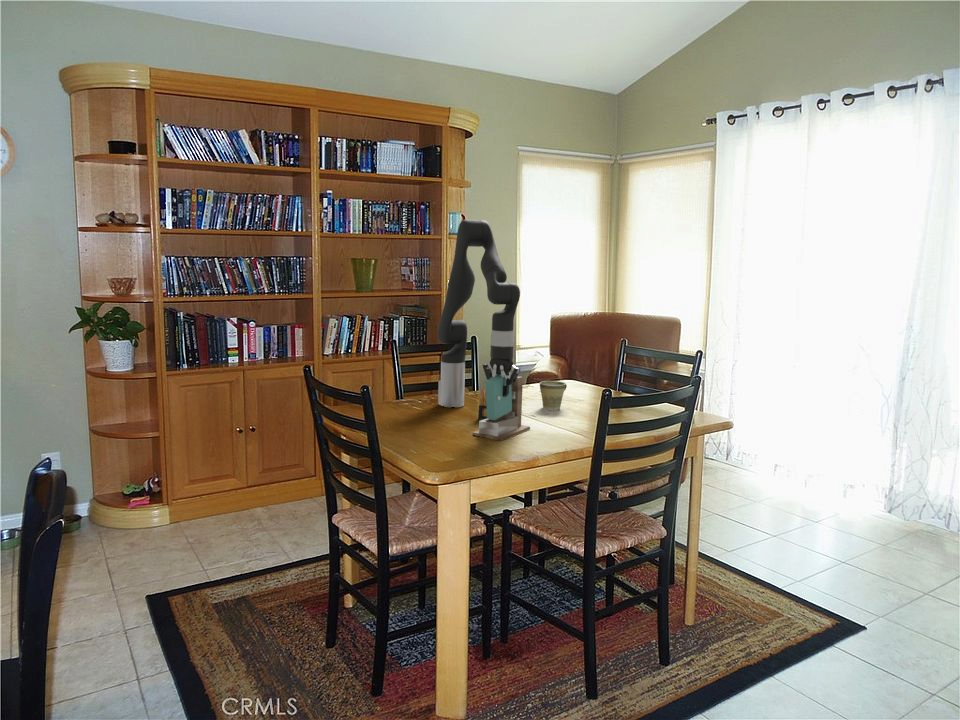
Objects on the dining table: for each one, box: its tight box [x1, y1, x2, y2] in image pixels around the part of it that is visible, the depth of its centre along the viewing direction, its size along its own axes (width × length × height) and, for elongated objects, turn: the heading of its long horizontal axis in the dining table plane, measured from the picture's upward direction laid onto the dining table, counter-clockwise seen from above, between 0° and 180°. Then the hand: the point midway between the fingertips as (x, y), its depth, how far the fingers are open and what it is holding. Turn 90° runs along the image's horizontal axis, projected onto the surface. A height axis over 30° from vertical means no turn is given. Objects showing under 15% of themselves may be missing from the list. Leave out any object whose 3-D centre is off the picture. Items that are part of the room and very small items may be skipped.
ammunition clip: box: [477, 385, 487, 420], centre depth 263 cm, size 11×2×12 cm, turn 71°
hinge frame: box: [471, 375, 531, 442], centre depth 245 cm, size 11×19×18 cm, turn 147°
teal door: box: [485, 372, 512, 420], centre depth 242 cm, size 4×11×13 cm, turn 147°
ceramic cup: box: [539, 380, 567, 411], centre depth 285 cm, size 13×10×10 cm
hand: (500, 395), depth 243 cm, fingers closed on teal door, 3 cm apart
